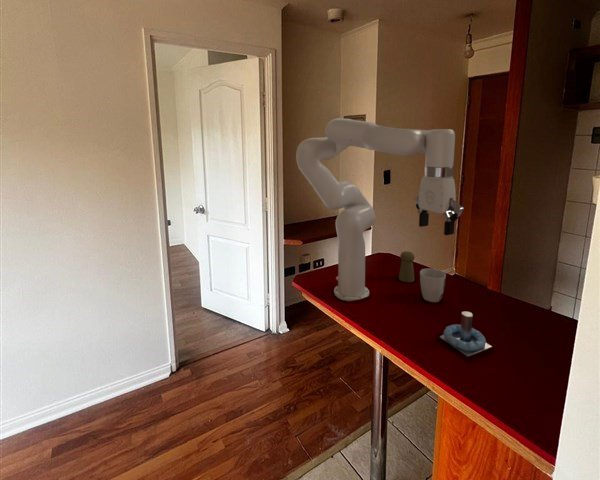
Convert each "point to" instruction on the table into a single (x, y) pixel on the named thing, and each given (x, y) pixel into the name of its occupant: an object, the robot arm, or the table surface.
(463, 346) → the ring
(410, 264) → the cork
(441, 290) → the cup
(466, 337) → the post
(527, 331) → the table surface
